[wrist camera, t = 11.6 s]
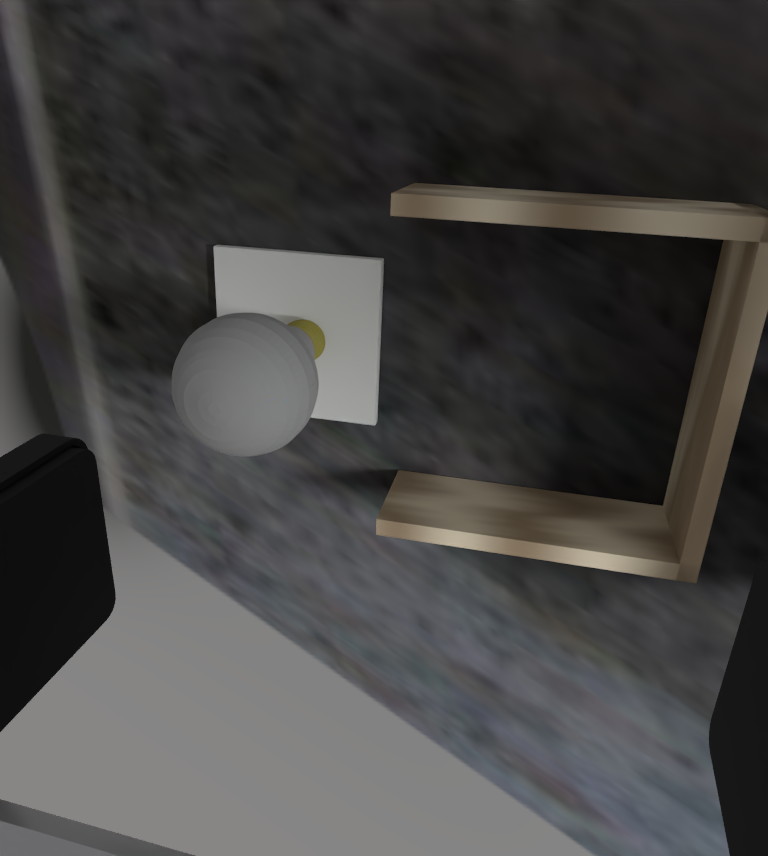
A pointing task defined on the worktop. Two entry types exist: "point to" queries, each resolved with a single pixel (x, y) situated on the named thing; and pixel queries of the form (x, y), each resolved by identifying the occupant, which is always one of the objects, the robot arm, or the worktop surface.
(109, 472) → the worktop surface
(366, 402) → the grey pad
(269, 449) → the light bulb
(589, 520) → the u-shaped wooden frame
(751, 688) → the robot arm
